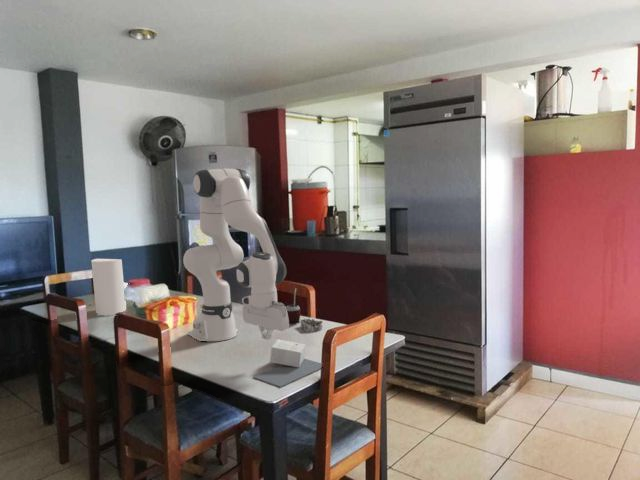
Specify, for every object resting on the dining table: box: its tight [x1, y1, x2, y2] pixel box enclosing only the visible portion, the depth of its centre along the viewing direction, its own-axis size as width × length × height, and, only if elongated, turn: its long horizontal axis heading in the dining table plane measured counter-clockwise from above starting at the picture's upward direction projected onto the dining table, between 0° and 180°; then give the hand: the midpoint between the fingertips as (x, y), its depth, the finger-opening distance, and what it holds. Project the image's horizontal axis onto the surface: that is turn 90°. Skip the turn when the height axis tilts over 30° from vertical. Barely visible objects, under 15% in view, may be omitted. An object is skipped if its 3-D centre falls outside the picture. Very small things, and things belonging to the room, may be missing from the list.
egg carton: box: [299, 318, 323, 333], centre depth 212 cm, size 11×8×4 cm
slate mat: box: [252, 358, 322, 388], centre depth 164 cm, size 13×22×1 cm, turn 138°
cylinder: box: [90, 258, 129, 314], centre depth 256 cm, size 17×17×28 cm
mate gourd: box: [285, 288, 302, 326], centre depth 221 cm, size 8×8×15 cm
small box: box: [269, 338, 307, 368], centre depth 170 cm, size 8×6×10 cm
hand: (266, 338), depth 170 cm, fingers closed
